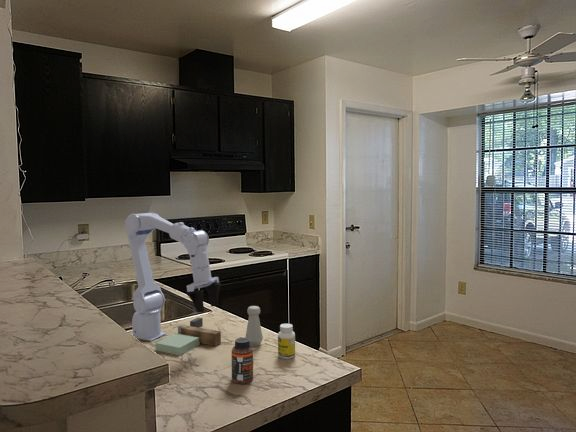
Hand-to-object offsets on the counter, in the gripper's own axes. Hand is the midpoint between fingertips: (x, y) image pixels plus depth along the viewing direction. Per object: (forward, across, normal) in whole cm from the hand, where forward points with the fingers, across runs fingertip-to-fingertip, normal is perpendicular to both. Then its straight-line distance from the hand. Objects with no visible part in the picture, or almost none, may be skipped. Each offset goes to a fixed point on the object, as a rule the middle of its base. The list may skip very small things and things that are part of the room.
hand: (207, 309), depth 140 cm
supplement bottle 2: (+18, +6, -22) cm, 30 cm away
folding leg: (+12, +5, +10) cm, 16 cm away
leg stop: (+10, +17, +20) cm, 28 cm away
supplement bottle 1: (+18, -14, -18) cm, 29 cm away
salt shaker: (+16, +10, -9) cm, 21 cm away
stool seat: (+12, -2, +13) cm, 17 cm away
